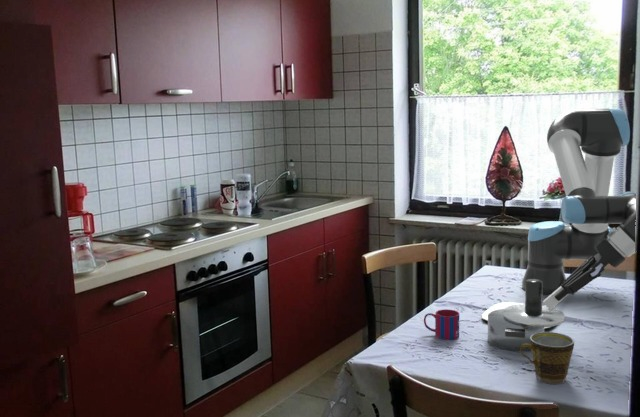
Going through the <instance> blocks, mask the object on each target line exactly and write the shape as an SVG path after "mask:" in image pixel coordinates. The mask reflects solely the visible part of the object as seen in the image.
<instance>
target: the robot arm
mask: <svg viewBox="0 0 640 417" xmlns="http://www.w3.org/2000/svg"><path fill="white" fill-rule="evenodd" d="M630 130H631V129H630V123H629V119H628V115H627V113H626V112H625V111H624V110H623V109H621V108H610V107H607V108H587V109H586V108H582V109H581V108H580V109H579V108H577V109H570V110H567V111H565V112H563V113H561V114H559V115H558V116H557V117H556V118H555V119H554V120H553V121H552V122H551V124H550V126H549V128H548V131H547V133H546V135H547V136H546V142H547V146H548V149H549V151H550V152H551V153H552V154H553V155H554V159H555V161H556V165H557V169H558V172H559V175H560V176H559V177H560V179H561V183H562V187H563V190H564V193H565V196H564V197H563V198H562V201H561V207H560V212H561V218H562V221H560V220H558V221H557V220H556V221H555V220H554V221H553V220H551V221H550V220H549V221H541V222H537V223H534V224H532V225H531V226H530V227H529V228H528V236H527V241H528V242H527V267H526V270H525V272H524V275H523V278H522V281H521V288H522V289H523V290H524V291H525V289H526V280H528V279H538V280H541V281H543V289H542V295H548V296H547V297H546V298H545V299H544V300H542V304H544V306H547V307H548V308H549V309H550V310H551V309H552V308H555V307H556V306H557V305H558V304H559V303H561V302H562V301H563V300H564V299H566V297H568V296H569V295H572V296H573V295H575V293H578V291H580V290H581V289H583V288H584V287H585V286H587V285H588V284H590V283H591V282H592V281H594V280H595V279H597V278H599V277H600V276H601V275H602V274H601V273H603V272H604V271H605V268H606V267H607V265H610V266H612V267H613V268H618V267H619V266H620V265H621V264H622V263H624V262H625V261H626V257H627V258H630V257H631V256H632V255H633V254H635V253H636V252H635V226H636V225H635V222H636V221H635V220H636V193H637V192H634V191H624V192H622V193H620V194H618V195H609V192H610V186H611V181H612V172H613V167H614V161H615V157H616V156H619V155H620V153H621V150H622V147H625V146H628V145H629V142H630V138H631V137H630V136H631V131H630ZM583 153H584V154H585V156H584V155H583ZM565 224H571V225H565ZM610 224H613V225H614V224H617V225H618V224H619V225H618V226H617V227H613V228H611V227H610V226H609V225H610ZM564 260H566V261H567V260H568V261H569V260H571V261H572V260H575V261H576V260H578V261H580V260H583V263H581V264H580V265H579V266H578V267H577V268H576V269H575V270H574V271H573V272H572V273H570V274H569V276H567V277H566V274H565V271H564V268H563V267H564Z"/></svg>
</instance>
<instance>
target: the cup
mask: <svg viewBox="0 0 640 417" xmlns="http://www.w3.org/2000/svg"><path fill="white" fill-rule="evenodd" d="M428 316H432V317H433V318H434V320H435V323H434V324H435V325H434V327H435V328H431V327H430V326H428V324H427V321H426V319H427V317H428ZM423 324H424V326H425V328H426V329H427V330H429V331H431V332H433V333H435V334H434V335H435V337H436V338H437V339H440V340H445V341H451V340H452V341H453V340H457V339H458V338H460V312H459V311H457V310H454V309H438V310H436V312H435V313H432V312H431V313H430V312H428V313H426V314H425V315H424V317H423Z"/></svg>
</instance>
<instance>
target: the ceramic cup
mask: <svg viewBox="0 0 640 417" xmlns="http://www.w3.org/2000/svg"><path fill="white" fill-rule="evenodd" d="M530 343H531V345H530V344H527V343H526V344H523V345H522V346H521V348H520V351H519V352H520V354H521V355H522V356H523V357H524V358H526V359H527V360H528V361H529V362H530V363H531V364H533V367H534V371H535V378H536V379H537V380H538V381H539V382H541V383H543V382H544V383H545V384H548V385H560V383H561V384H564V382H565V381H566V379H567V376H568V371H569V367H570V364H571V363H570V362H571V360H572V359H571V358H572V355H573V350H574V346H575V340H574V338H573V337H571V336H570V335H566V334H563V333H561V332H552V331H551V332H550V331H544V332H540V333H535V334H533V335H531V337H530ZM524 347H530V348H531V350H532V351H531V354H532V360H531V358H530V357H529V356H527V355H526V354H525V353H524V352H522V349H523V348H524ZM544 383H543V384H544Z"/></svg>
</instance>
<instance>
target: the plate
mask: <svg viewBox="0 0 640 417" xmlns="http://www.w3.org/2000/svg"><path fill="white" fill-rule="evenodd" d="M518 304H524V303H522V302H521V303H520V302H512V301H511V302H510V301H509V302H506V301H503V302H499V303H495V304H494V305H491V306H490V307H489V308H487V310H485V311H484V312H483V313H482V314H481V318H482V320H483V321H486V322H488V314H489V313H490V312H492V311H495V310H499V309H505V308H506V307H509V306H512V305H518ZM552 327H553V326H551V327H544V330H546V329H550V328H552Z"/></svg>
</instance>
